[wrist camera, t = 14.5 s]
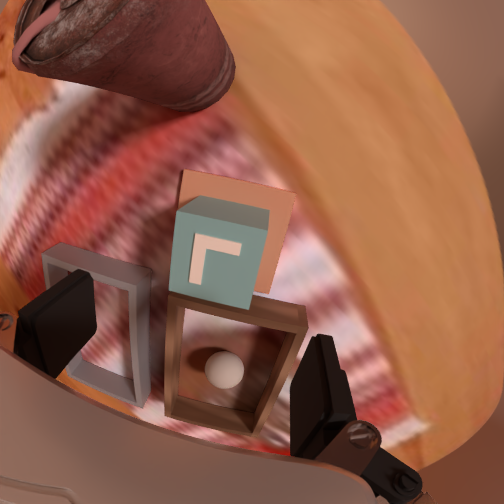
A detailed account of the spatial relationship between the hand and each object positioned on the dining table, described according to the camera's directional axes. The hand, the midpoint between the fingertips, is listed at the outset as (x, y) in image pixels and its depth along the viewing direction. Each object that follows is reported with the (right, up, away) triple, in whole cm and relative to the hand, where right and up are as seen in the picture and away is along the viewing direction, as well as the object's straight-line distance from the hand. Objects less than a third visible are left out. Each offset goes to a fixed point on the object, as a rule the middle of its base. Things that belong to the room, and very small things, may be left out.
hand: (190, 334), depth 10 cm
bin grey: (-13, -4, +15) cm, 20 cm away
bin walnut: (0, -7, +15) cm, 16 cm away
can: (-2, +16, +6) cm, 17 cm away
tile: (+1, +5, +10) cm, 11 cm away
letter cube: (+1, +4, +10) cm, 11 cm away
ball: (0, -7, +14) cm, 16 cm away
